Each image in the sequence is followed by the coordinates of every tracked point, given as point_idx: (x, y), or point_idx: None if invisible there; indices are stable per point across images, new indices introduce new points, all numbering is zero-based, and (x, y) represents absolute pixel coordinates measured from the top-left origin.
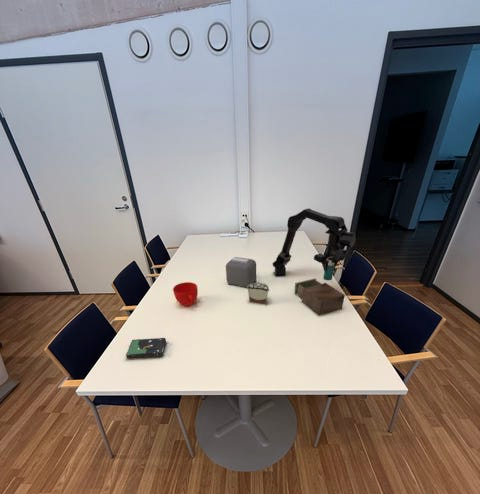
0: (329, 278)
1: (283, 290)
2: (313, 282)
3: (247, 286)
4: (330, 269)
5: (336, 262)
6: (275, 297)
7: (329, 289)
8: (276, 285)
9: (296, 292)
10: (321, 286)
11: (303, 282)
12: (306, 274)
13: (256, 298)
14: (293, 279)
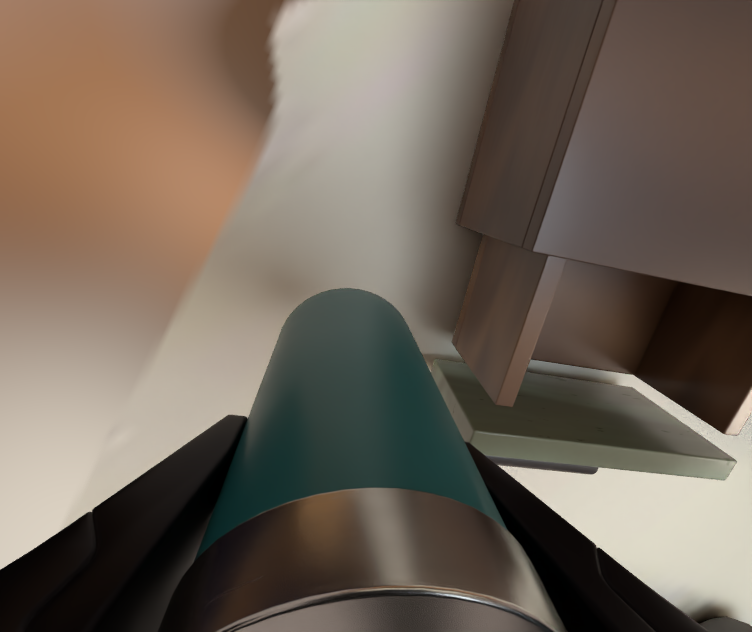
0: (384, 306)
1: (606, 485)
2: (492, 409)
3: (737, 620)
4: (432, 410)
5: (64, 622)
6: (735, 437)
7: (720, 13)
8: None
9: (635, 394)
10: (690, 198)
11: (646, 447)
12: None
13: None
14: None
